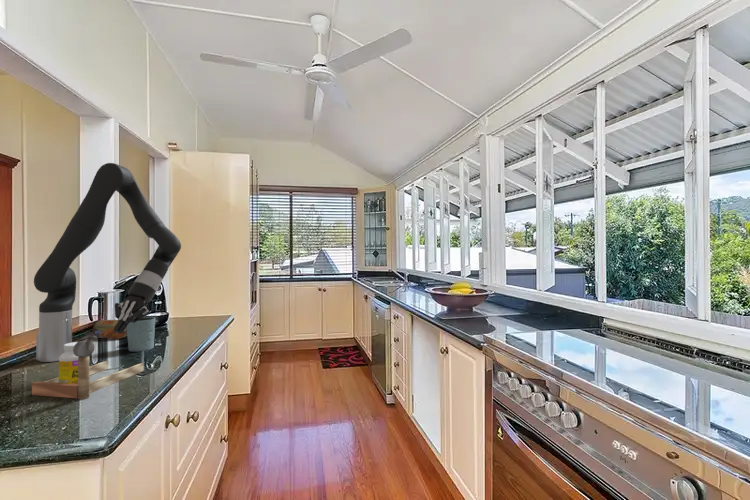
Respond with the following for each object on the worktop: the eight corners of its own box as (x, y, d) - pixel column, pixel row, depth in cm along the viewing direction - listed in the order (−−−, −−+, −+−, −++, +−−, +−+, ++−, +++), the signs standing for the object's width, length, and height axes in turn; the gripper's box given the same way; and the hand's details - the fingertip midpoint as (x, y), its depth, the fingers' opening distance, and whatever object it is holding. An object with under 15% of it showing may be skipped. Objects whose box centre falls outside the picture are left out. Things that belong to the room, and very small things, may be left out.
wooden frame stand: (105, 368, 128) (106, 318, 128) (156, 371, 125) (156, 320, 125) (26, 396, 103) (27, 334, 103) (87, 401, 100) (88, 337, 100)
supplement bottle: (70, 394, 104) (70, 347, 105) (52, 392, 106) (52, 345, 106) (94, 386, 111) (94, 341, 111) (76, 384, 113) (77, 340, 113)
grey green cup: (156, 349, 152) (156, 319, 152) (125, 353, 147) (126, 321, 147) (153, 344, 161) (154, 315, 161) (125, 347, 155) (125, 318, 155)
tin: (91, 339, 170) (92, 320, 170) (97, 337, 173) (97, 318, 173) (126, 339, 170) (126, 320, 170) (130, 337, 173) (131, 319, 173)
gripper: (123, 278, 134) (92, 324, 124) (155, 283, 131) (126, 331, 121) (136, 289, 140) (108, 333, 130) (167, 294, 137) (141, 340, 128)
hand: (117, 332), depth 126 cm, fingers closed
